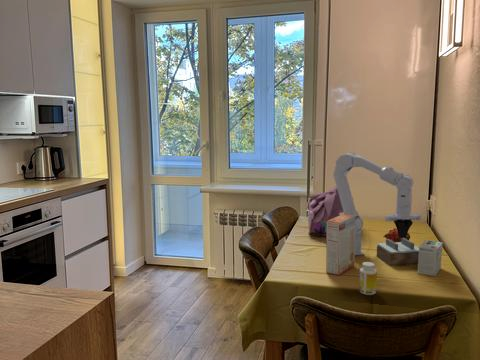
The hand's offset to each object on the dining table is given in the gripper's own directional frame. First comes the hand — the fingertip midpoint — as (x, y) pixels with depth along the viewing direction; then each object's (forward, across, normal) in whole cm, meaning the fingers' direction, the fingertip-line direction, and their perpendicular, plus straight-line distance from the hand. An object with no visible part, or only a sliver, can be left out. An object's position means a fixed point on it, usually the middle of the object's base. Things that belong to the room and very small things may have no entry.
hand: (402, 237), depth 180 cm
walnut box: (+10, -1, 0) cm, 10 cm away
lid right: (+5, +2, 0) cm, 5 cm away
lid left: (+5, -5, 0) cm, 6 cm away
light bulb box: (+10, +5, -13) cm, 17 cm away
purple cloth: (+10, -14, +48) cm, 51 cm away
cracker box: (+10, -29, -6) cm, 31 cm away
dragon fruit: (+10, +9, +21) cm, 25 cm away
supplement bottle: (+10, -28, -29) cm, 42 cm away
